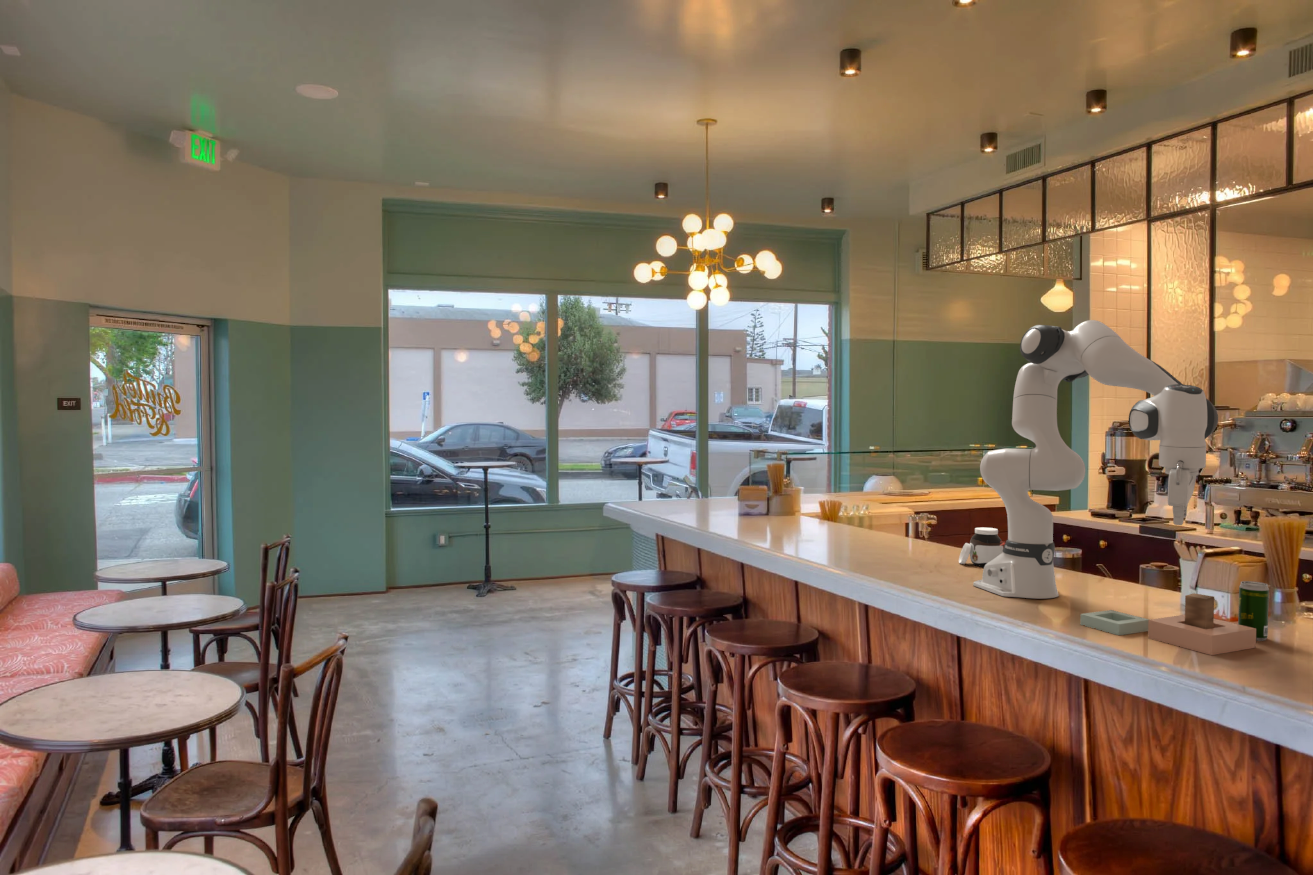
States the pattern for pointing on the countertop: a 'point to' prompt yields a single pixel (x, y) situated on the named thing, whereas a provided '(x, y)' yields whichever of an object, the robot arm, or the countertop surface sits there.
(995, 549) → the spread jar
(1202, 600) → the plug
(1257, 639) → the beer can
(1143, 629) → the green square frame
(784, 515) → the countertop surface
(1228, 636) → the socket block
